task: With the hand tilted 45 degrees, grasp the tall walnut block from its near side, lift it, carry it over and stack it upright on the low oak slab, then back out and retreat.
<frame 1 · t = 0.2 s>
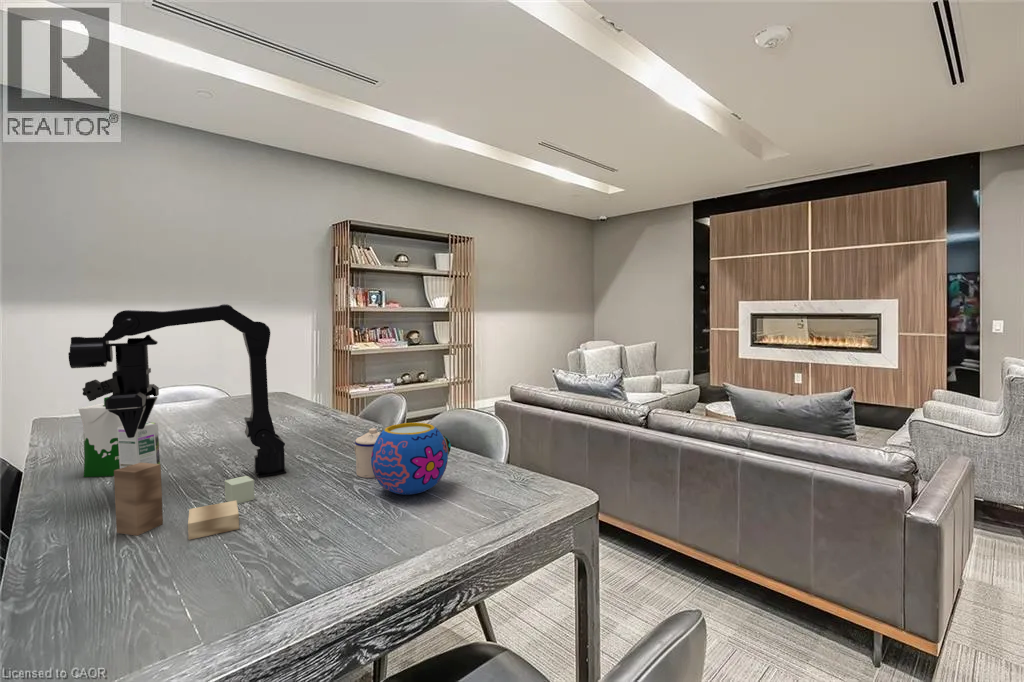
hand: (136, 433, 107), 14 cm above the table, tool pointing down, fingers open, 9 cm apart
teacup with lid: (370, 472, 124), on the table
sage cube: (239, 500, 105), on the table
ceramic pot: (410, 491, 110), on the table
oak slab: (214, 526, 91), on the table
walnut block: (140, 528, 90), on the table
milk carton: (108, 473, 124), on the table
syrup box: (140, 482, 116), on the table
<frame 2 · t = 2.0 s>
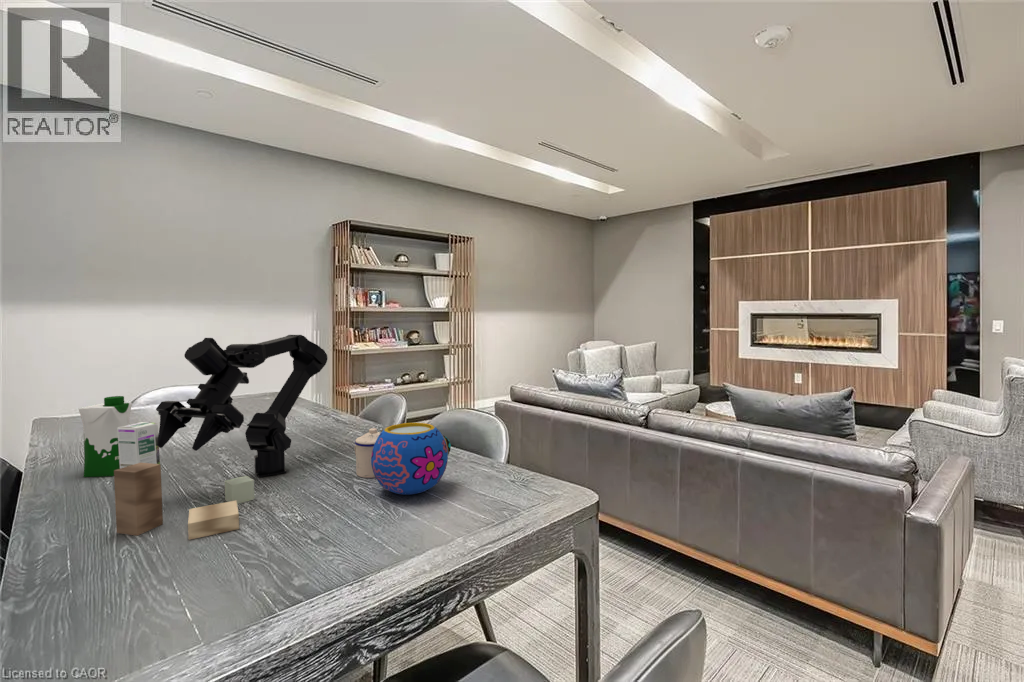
hand: (176, 448, 98), 13 cm above the table, tool tilted 45°, fingers open, 9 cm apart
nothing on the table moved.
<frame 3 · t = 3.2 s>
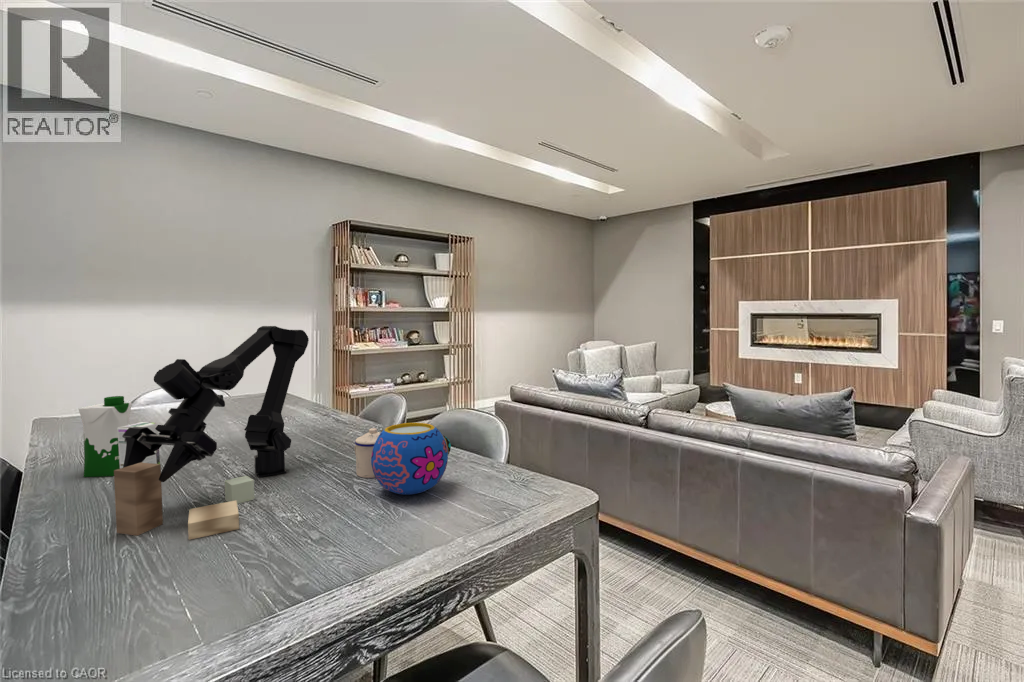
hand: (142, 479, 91), 9 cm above the table, tool tilted 45°, fingers open, 9 cm apart
nothing on the table moved.
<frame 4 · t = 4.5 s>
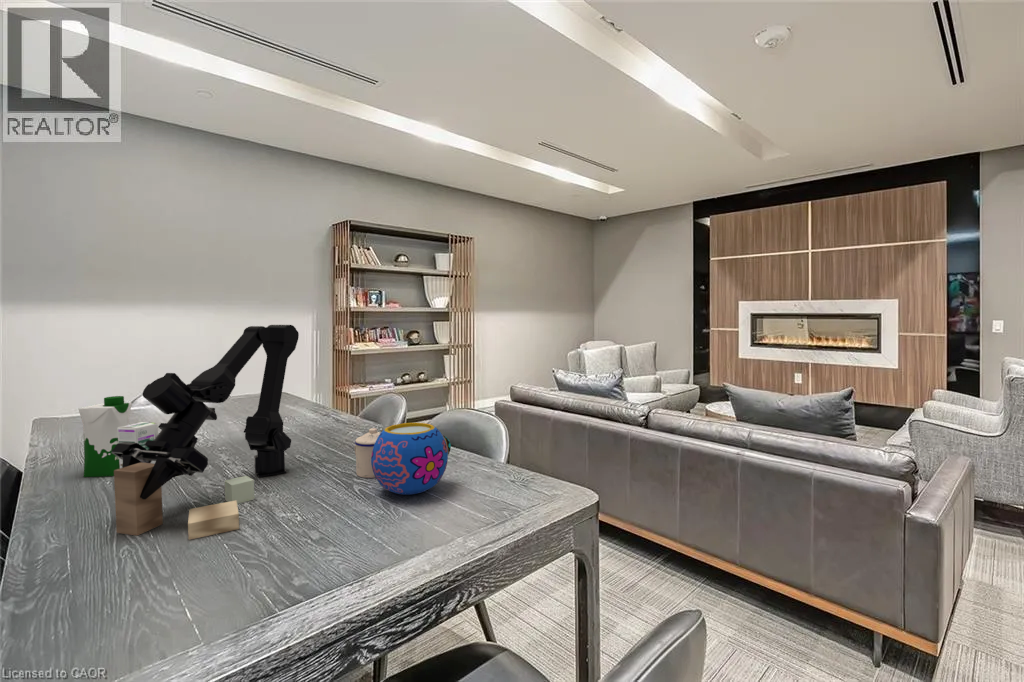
hand: (131, 497, 89), 7 cm above the table, tool tilted 45°, fingers closed on walnut block, 5 cm apart
walnut block: (140, 528, 90), on the table, touching gripper
everything else where it was.
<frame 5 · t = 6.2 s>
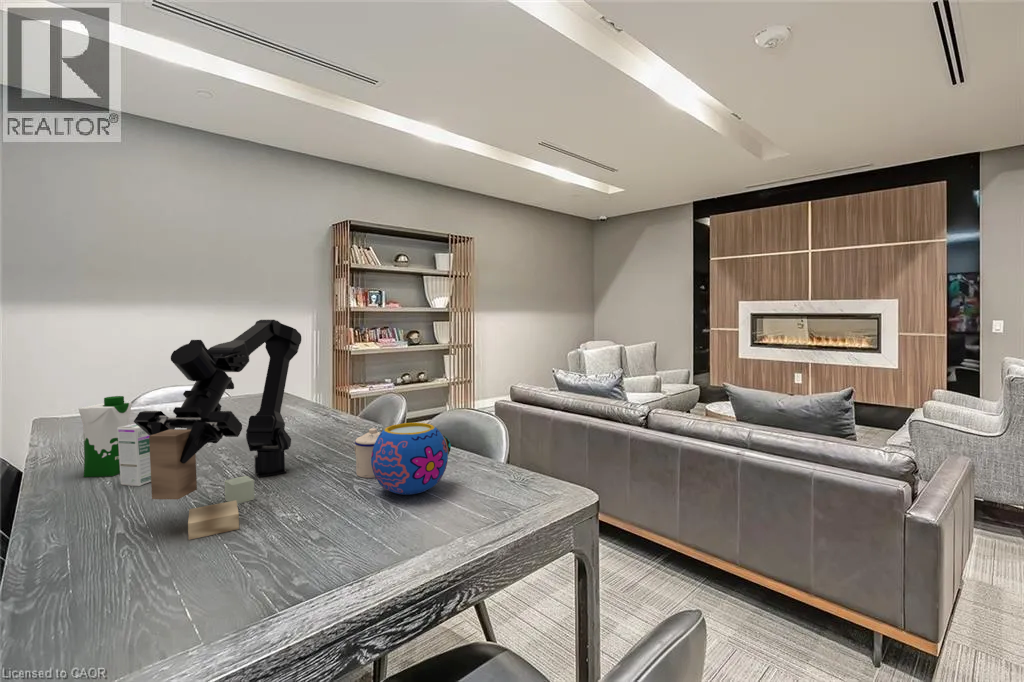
hand: (168, 462, 88), 13 cm above the table, tool tilted 45°, fingers closed on walnut block, 5 cm apart
walnut block: (175, 494, 90), point 7 cm above the table, touching gripper
everything else where it was.
when the fingers open (10 cm above the table, at t = 7.8 s): walnut block stays where it is, resting on oak slab.
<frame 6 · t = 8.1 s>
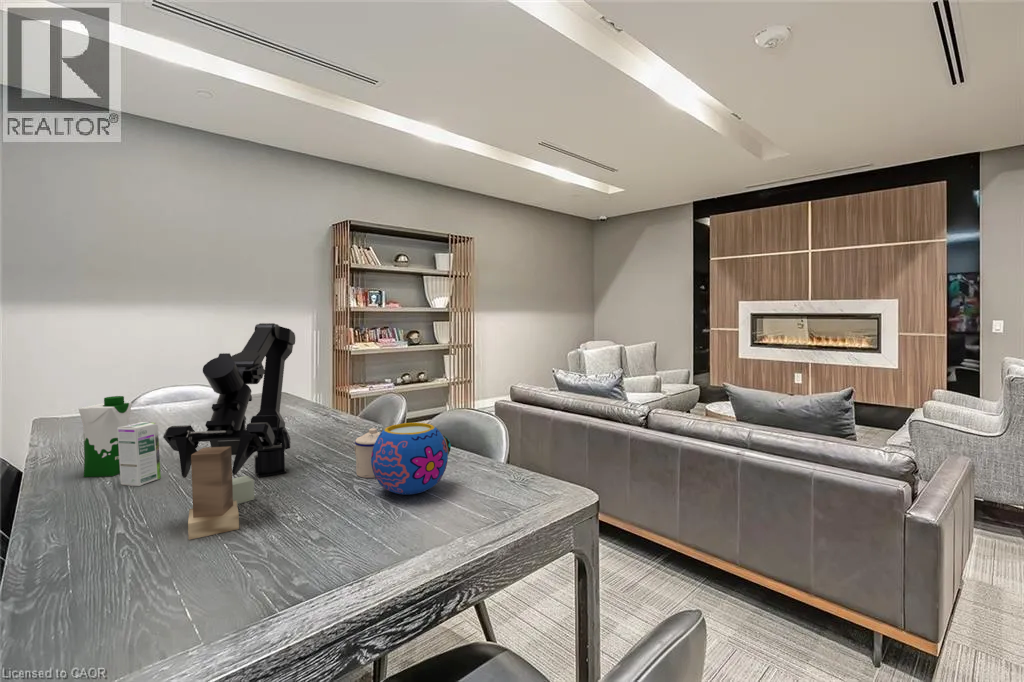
hand: (209, 475, 89), 11 cm above the table, tool tilted 45°, fingers open, 8 cm apart
walnut block: (213, 511, 91), point 3 cm above the table, touching oak slab
everything else where it was.
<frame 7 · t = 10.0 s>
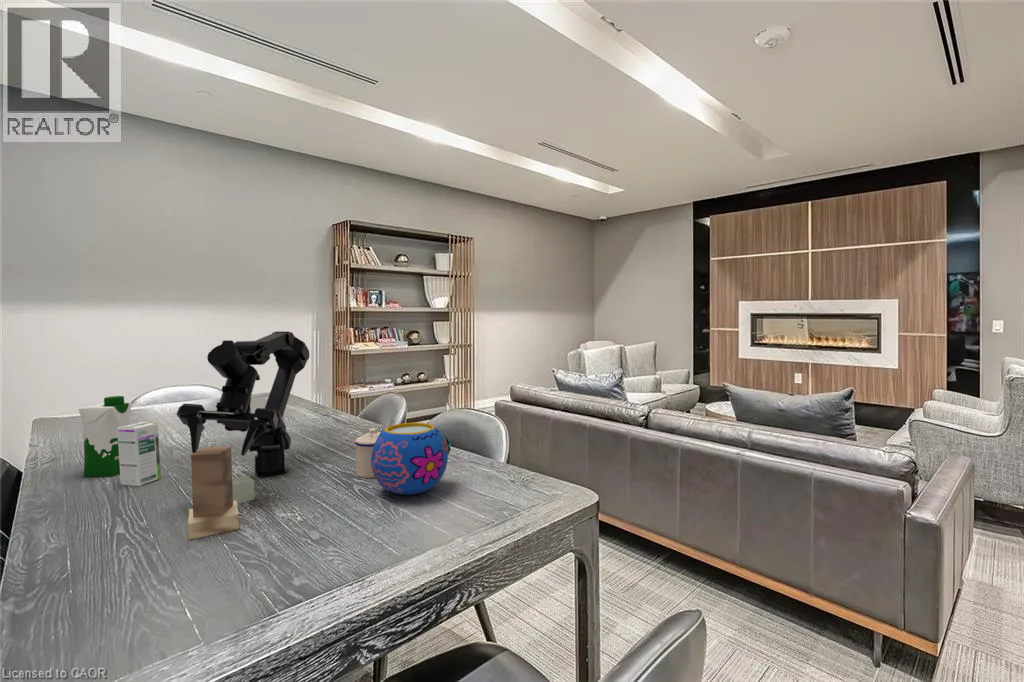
hand: (218, 454, 98), 12 cm above the table, tool tilted 35°, fingers open, 9 cm apart
nothing on the table moved.
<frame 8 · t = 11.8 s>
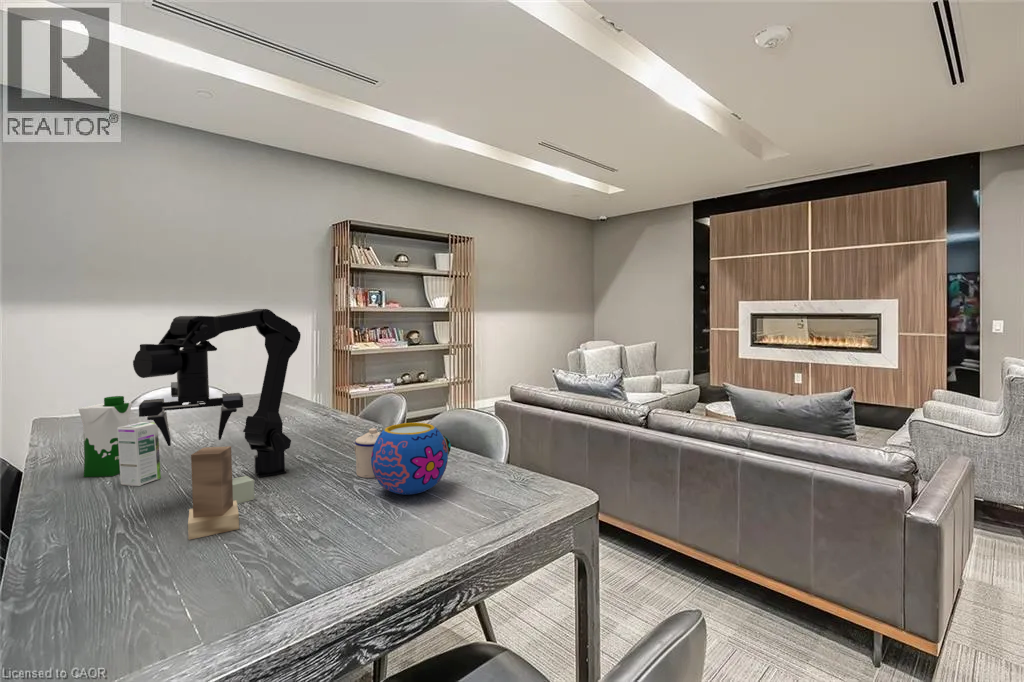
hand: (195, 442, 104), 13 cm above the table, tool pointing down, fingers open, 9 cm apart
nothing on the table moved.
at the end: walnut block inside the target area on the oak slab (0.0 cm from its centre), point 3.0 cm above the oak slab's base; walnut block tilted 0°; the gripper is holding nothing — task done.
